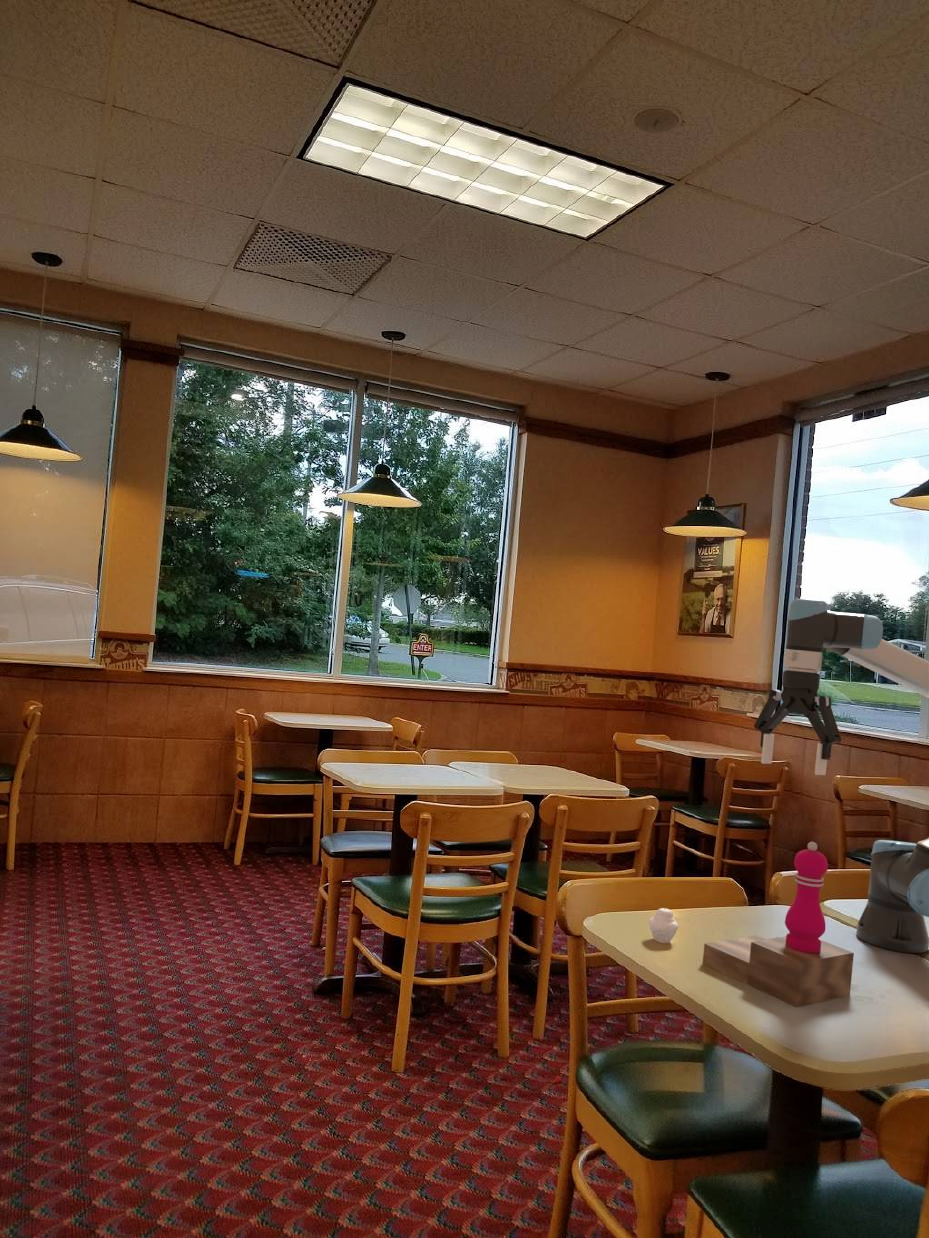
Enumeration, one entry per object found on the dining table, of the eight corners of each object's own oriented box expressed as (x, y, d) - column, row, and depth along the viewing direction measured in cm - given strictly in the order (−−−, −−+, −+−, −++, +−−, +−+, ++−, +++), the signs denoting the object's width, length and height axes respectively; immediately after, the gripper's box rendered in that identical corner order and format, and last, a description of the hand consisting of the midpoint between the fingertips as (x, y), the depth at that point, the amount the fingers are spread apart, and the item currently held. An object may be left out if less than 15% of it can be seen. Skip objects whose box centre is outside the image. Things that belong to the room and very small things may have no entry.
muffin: (682, 944, 193) (686, 911, 194) (661, 947, 190) (664, 913, 190) (662, 934, 199) (665, 902, 199) (641, 937, 196) (644, 904, 196)
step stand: (754, 954, 192) (758, 916, 192) (849, 995, 173) (853, 952, 173) (702, 963, 183) (706, 923, 183) (796, 1007, 164) (801, 962, 164)
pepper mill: (826, 956, 169) (836, 848, 169) (785, 950, 171) (795, 842, 171) (819, 944, 176) (829, 840, 177) (780, 938, 178) (790, 835, 178)
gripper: (743, 664, 206) (734, 758, 206) (843, 675, 185) (833, 779, 185) (765, 666, 210) (756, 759, 210) (865, 677, 189) (855, 779, 189)
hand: (792, 769), depth 197 cm, fingers open, 13 cm apart
